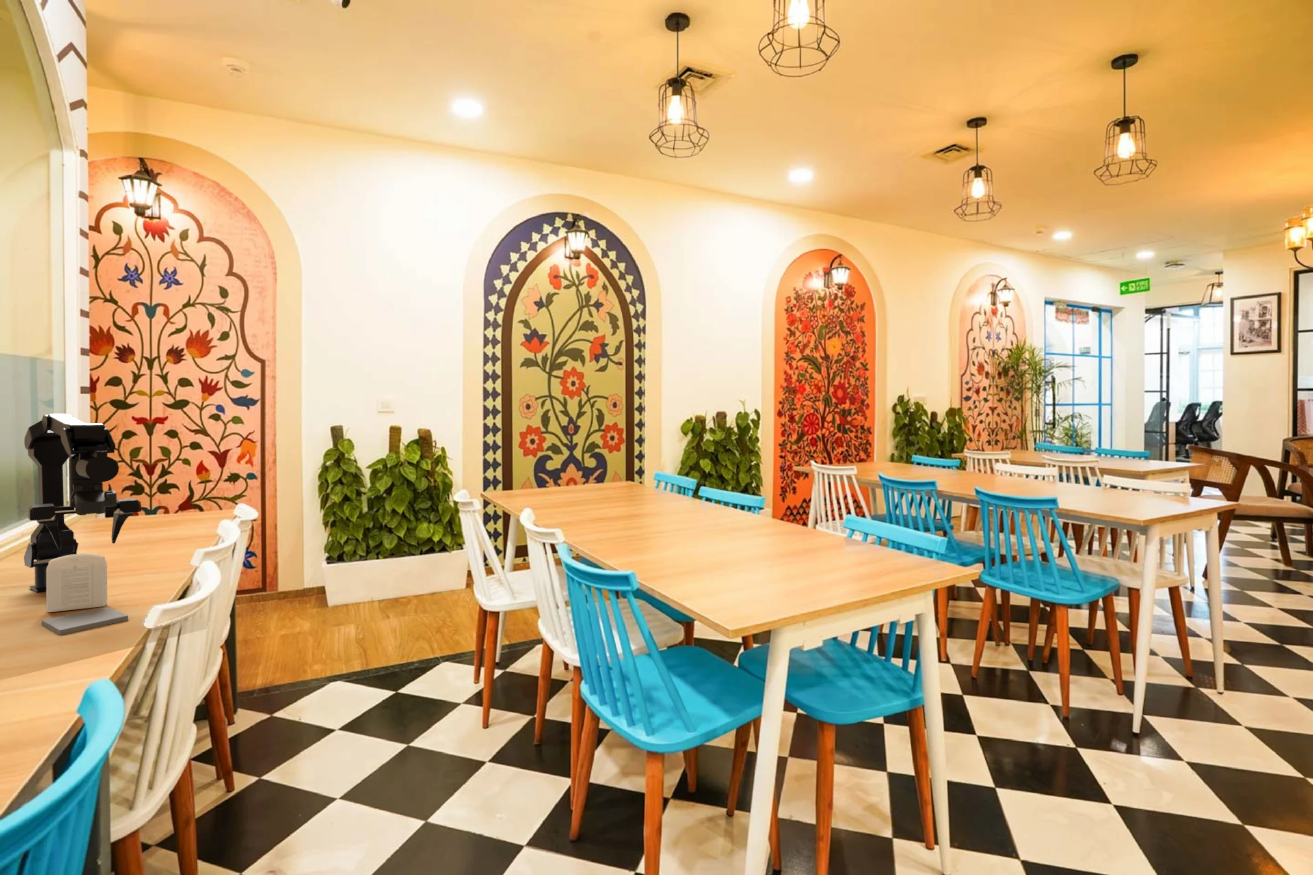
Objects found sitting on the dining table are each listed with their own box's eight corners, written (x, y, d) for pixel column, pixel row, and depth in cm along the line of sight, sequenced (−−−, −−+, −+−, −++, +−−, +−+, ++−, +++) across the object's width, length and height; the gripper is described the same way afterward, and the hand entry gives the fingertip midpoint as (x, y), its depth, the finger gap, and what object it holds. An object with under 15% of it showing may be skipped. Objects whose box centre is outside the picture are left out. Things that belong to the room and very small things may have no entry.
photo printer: (109, 602, 147) (108, 550, 146) (105, 607, 143) (104, 553, 143) (49, 609, 141) (48, 555, 141) (44, 614, 138) (43, 558, 137)
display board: (41, 624, 131) (41, 619, 131) (108, 610, 141) (108, 606, 141) (59, 634, 125) (59, 630, 125) (128, 620, 135) (128, 615, 135)
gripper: (31, 484, 130) (32, 559, 131) (145, 478, 144) (146, 545, 145) (26, 479, 137) (28, 549, 138) (136, 474, 151) (136, 538, 152)
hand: (87, 546), depth 143 cm, fingers open, 9 cm apart
